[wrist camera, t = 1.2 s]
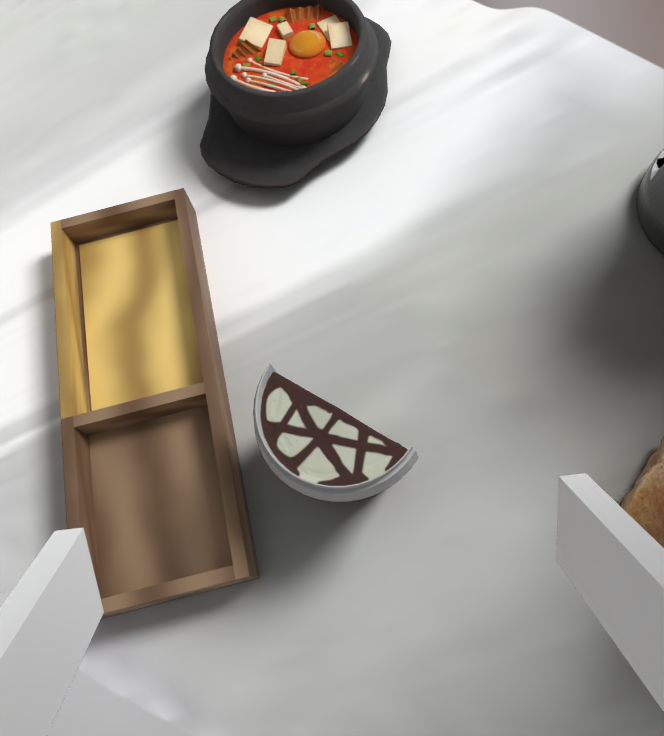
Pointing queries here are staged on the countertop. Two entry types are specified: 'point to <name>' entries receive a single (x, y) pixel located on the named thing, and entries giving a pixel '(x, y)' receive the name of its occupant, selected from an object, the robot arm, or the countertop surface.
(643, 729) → the countertop surface
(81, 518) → the walnut divided tray
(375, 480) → the food container
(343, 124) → the casserole
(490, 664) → the countertop surface
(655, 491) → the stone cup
